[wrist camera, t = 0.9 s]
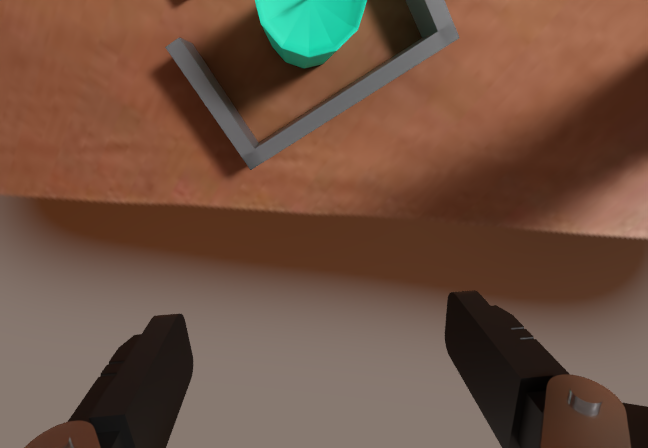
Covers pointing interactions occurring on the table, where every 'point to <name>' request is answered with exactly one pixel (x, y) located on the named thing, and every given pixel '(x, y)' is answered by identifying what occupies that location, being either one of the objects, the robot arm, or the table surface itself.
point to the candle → (309, 27)
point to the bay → (435, 36)
